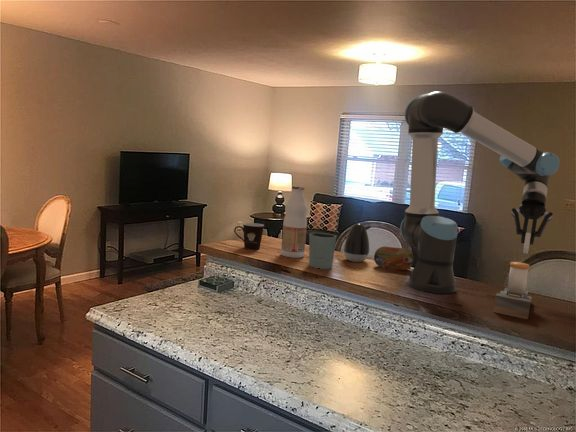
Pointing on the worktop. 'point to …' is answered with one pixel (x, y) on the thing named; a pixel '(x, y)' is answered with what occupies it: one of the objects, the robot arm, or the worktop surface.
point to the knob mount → (512, 304)
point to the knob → (517, 278)
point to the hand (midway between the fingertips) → (525, 250)
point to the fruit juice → (295, 224)
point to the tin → (394, 258)
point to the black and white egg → (357, 243)
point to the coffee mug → (251, 235)
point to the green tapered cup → (321, 250)
